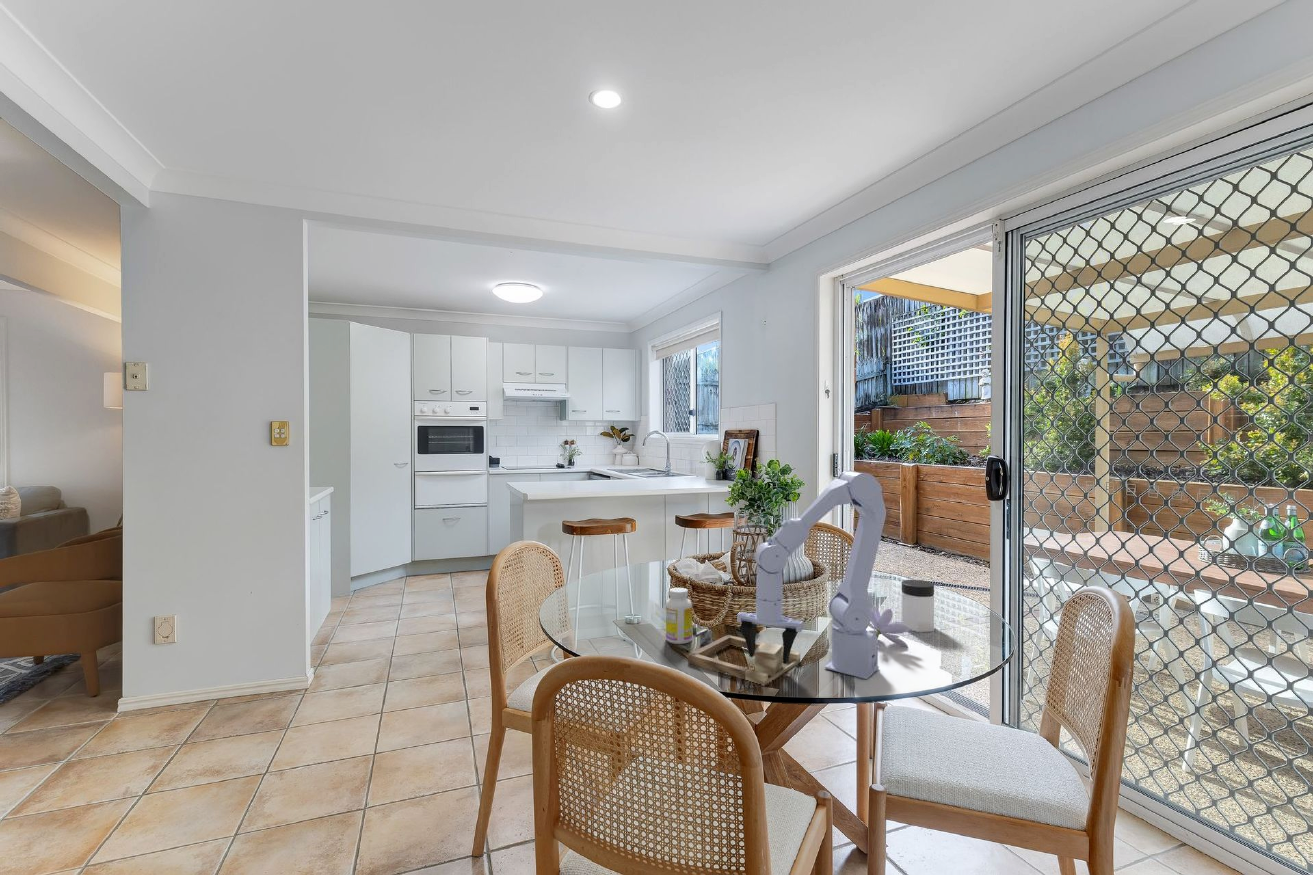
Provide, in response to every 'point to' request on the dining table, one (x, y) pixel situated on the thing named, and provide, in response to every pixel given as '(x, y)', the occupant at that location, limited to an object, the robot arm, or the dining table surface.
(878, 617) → the water lily
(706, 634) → the winch
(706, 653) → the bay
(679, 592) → the supplement bottle
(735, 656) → the dining table surface
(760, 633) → the dining table surface
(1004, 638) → the dining table surface
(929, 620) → the jar
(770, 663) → the beige cube
